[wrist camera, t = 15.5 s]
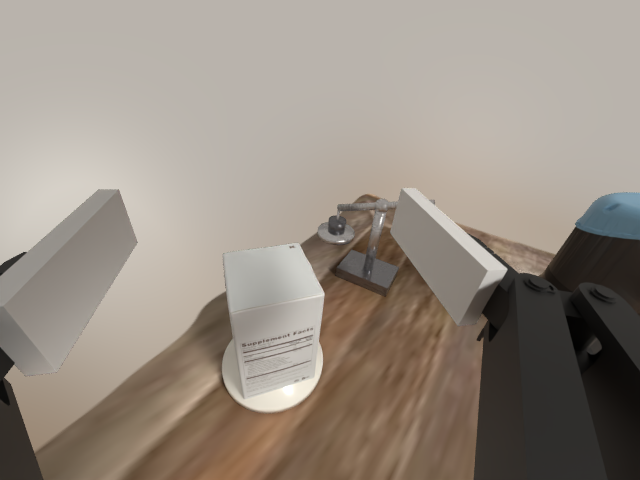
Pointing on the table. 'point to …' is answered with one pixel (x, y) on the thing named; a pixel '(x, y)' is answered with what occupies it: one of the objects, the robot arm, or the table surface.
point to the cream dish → (271, 400)
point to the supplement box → (273, 316)
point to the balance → (356, 264)
